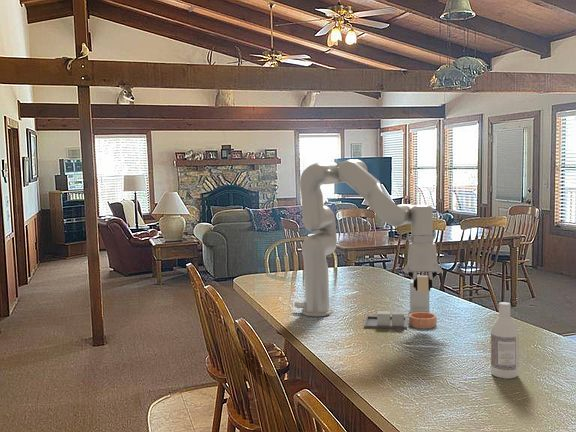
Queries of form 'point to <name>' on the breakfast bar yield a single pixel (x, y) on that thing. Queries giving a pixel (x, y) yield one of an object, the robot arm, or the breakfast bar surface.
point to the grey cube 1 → (383, 318)
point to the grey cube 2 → (397, 318)
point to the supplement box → (418, 300)
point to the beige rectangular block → (422, 283)
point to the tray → (372, 323)
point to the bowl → (422, 320)
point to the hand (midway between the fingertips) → (422, 289)
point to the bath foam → (504, 344)
